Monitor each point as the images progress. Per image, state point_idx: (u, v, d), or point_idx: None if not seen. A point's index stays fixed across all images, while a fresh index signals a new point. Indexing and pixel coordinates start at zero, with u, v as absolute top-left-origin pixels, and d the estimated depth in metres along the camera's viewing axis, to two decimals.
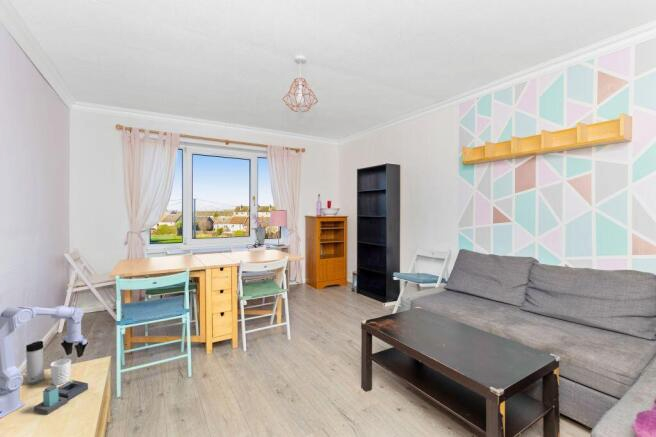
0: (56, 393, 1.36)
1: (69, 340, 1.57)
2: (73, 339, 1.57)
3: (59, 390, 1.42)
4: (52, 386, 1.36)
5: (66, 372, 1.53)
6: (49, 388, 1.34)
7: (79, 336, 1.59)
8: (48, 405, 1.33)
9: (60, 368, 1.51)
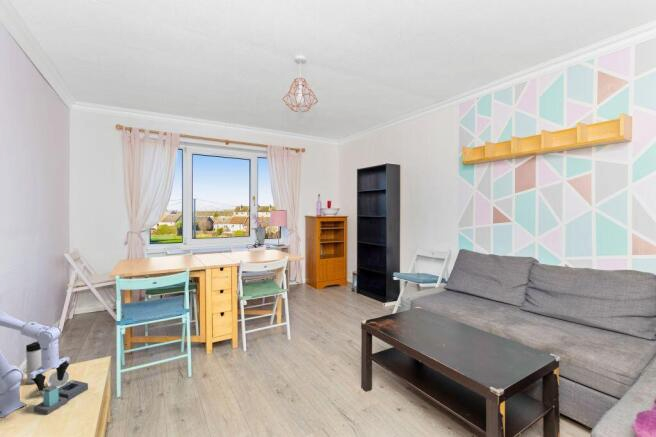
0: (56, 393, 1.36)
1: None
2: None
3: (59, 390, 1.42)
4: (52, 386, 1.36)
5: (65, 382, 1.49)
6: (49, 388, 1.34)
7: (44, 365, 1.32)
8: (48, 405, 1.33)
9: (60, 386, 1.45)
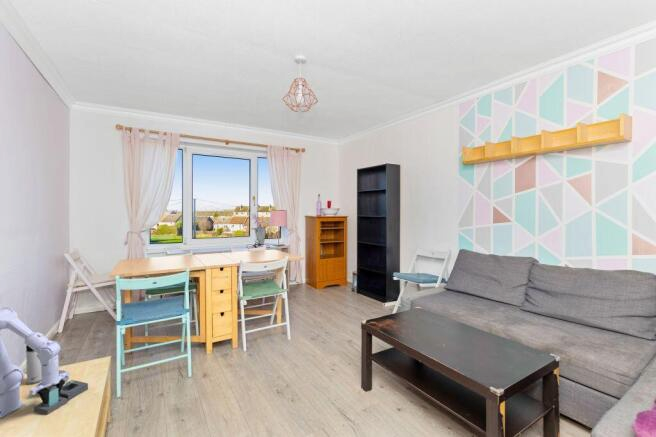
0: (56, 393, 1.36)
1: None
2: None
3: None
4: (52, 386, 1.36)
5: (65, 382, 1.49)
6: (49, 388, 1.34)
7: (44, 381, 1.32)
8: (48, 405, 1.33)
9: None
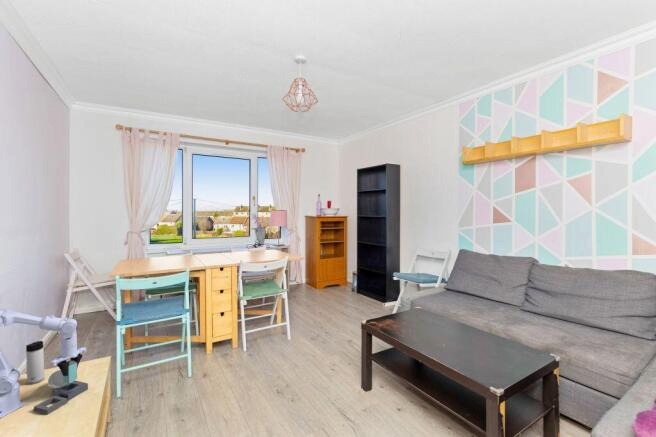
0: (75, 367, 1.45)
1: None
2: (61, 354, 1.43)
3: (59, 390, 1.42)
4: (71, 361, 1.45)
5: (66, 382, 1.49)
6: (69, 362, 1.43)
7: (64, 354, 1.41)
8: (68, 378, 1.43)
9: (60, 386, 1.45)
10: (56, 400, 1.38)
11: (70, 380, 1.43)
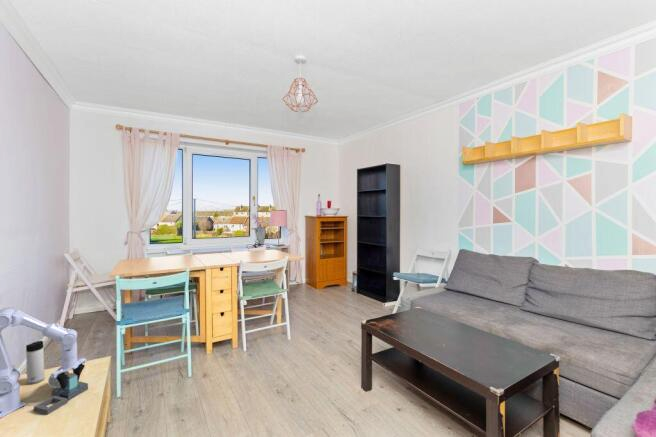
0: (75, 380, 1.45)
1: None
2: None
3: (59, 390, 1.42)
4: (72, 374, 1.45)
5: None
6: (69, 375, 1.44)
7: (64, 366, 1.42)
8: None
9: (60, 386, 1.45)
10: (56, 400, 1.38)
11: None
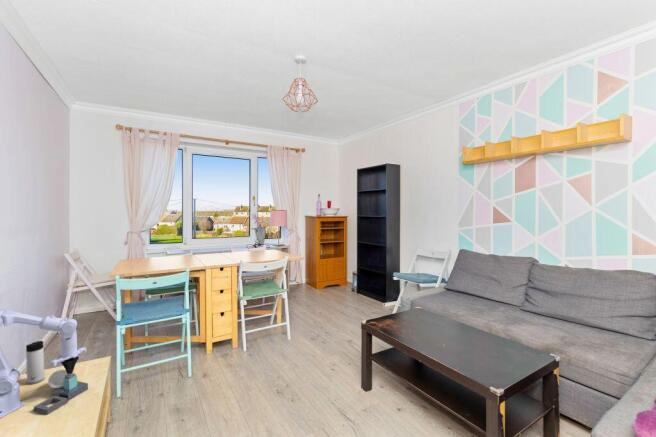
0: (75, 380, 1.46)
1: None
2: None
3: (59, 390, 1.42)
4: (71, 374, 1.45)
5: None
6: (69, 375, 1.44)
7: (64, 355, 1.41)
8: None
9: (60, 386, 1.45)
10: (56, 400, 1.38)
11: None
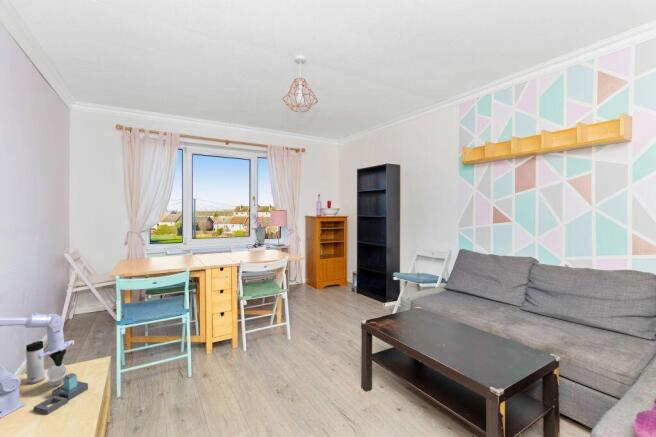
0: (75, 380, 1.46)
1: None
2: None
3: (59, 390, 1.42)
4: (71, 374, 1.45)
5: None
6: (69, 375, 1.44)
7: (51, 348, 1.44)
8: None
9: (58, 380, 1.46)
10: (56, 400, 1.38)
11: None
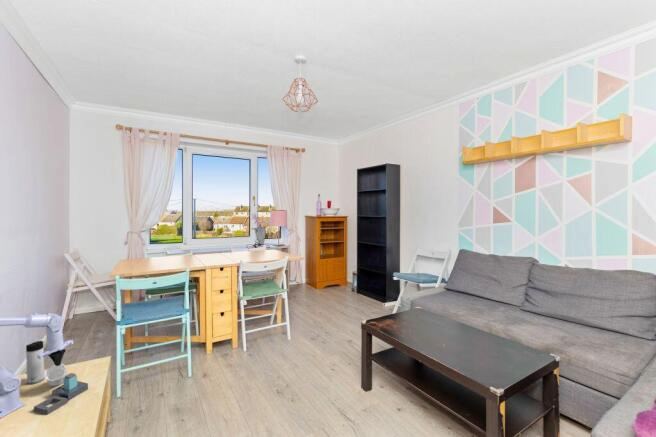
0: (75, 380, 1.46)
1: None
2: None
3: (59, 390, 1.42)
4: (71, 374, 1.45)
5: None
6: (69, 375, 1.44)
7: (50, 348, 1.44)
8: None
9: (57, 380, 1.46)
10: (56, 400, 1.38)
11: None
